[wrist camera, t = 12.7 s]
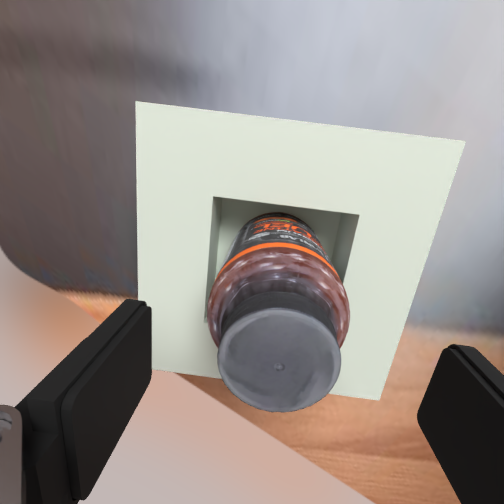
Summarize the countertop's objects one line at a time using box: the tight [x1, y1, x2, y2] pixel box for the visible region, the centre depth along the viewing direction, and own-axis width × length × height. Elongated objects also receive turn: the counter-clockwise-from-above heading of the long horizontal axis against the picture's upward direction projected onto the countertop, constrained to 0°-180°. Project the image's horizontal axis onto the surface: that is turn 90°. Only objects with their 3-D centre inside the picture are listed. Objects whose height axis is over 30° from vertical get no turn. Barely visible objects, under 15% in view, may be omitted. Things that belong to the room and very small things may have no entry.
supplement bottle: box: [207, 212, 350, 412], centre depth 14 cm, size 6×6×11 cm
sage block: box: [136, 101, 466, 400], centre depth 20 cm, size 16×16×8 cm
